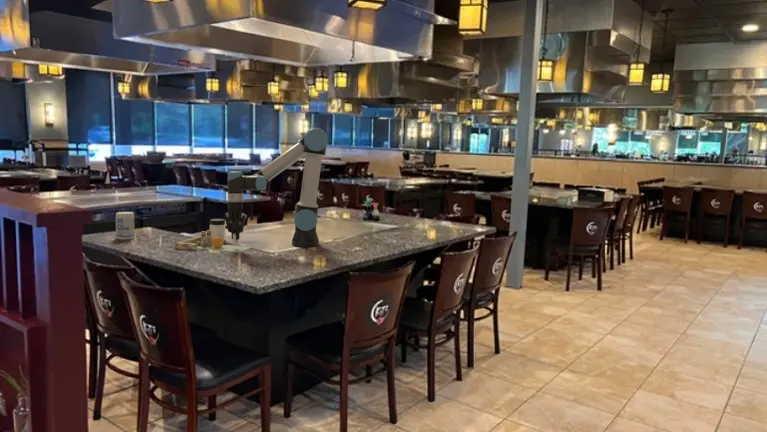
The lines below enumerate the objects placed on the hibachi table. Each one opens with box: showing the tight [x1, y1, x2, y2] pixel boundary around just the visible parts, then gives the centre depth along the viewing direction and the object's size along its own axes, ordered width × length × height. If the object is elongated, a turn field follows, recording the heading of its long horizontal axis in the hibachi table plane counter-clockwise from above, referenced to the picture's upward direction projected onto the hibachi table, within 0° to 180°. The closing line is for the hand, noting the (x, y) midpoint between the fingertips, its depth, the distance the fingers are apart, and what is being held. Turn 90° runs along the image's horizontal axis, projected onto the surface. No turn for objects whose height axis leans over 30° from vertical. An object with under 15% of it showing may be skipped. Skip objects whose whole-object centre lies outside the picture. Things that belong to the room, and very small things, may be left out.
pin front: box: [196, 241, 213, 247], centre depth 306 cm, size 2×2×8 cm
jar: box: [209, 218, 226, 242], centre depth 324 cm, size 9×8×12 cm
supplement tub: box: [115, 211, 135, 241], centre depth 321 cm, size 10×10×15 cm
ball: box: [212, 237, 225, 248], centre depth 303 cm, size 6×6×6 cm
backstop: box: [174, 235, 214, 251], centre depth 307 cm, size 12×22×3 cm, turn 164°
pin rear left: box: [200, 230, 207, 247], centre depth 303 cm, size 2×2×8 cm
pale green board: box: [197, 244, 253, 253], centre depth 304 cm, size 32×14×1 cm, turn 74°
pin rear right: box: [206, 229, 211, 242], centre depth 308 cm, size 2×2×8 cm
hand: (235, 245), depth 301 cm, fingers closed
